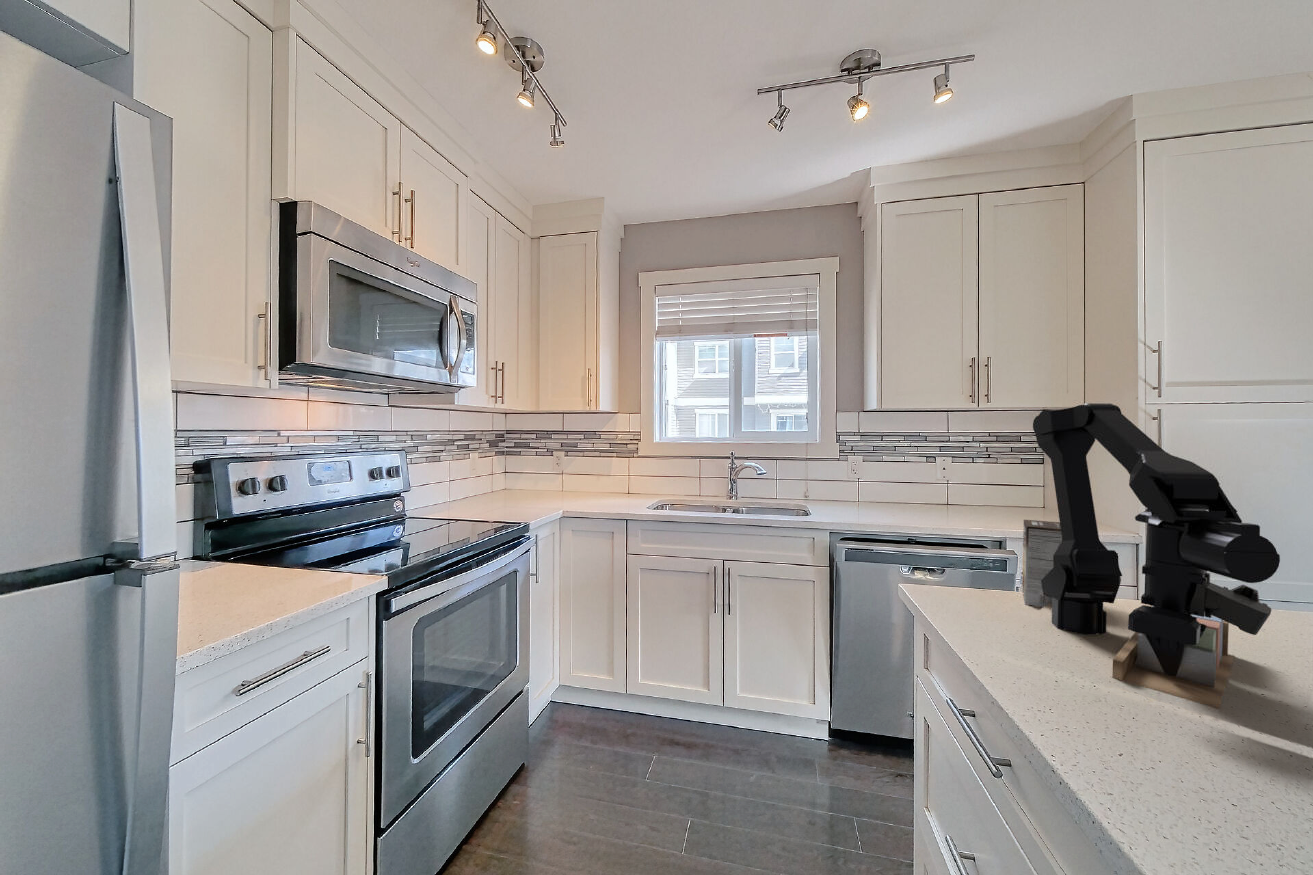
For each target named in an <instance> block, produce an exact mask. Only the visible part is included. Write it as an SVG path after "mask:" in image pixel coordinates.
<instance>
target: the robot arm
mask: <svg viewBox="0 0 1313 875" xmlns="http://www.w3.org/2000/svg"><path fill="white" fill-rule="evenodd" d="M1032 430H1033V432H1034V433H1035V438H1036V441H1037V446H1038V447H1039V448H1040V449H1041V450H1042V452H1043V453H1045V455H1047V457H1048V458H1049V459H1050V463H1051V469H1052V476H1053V477H1052V478H1053V484H1054V489H1055V498H1056V503H1057V504H1056V505H1057V511H1058V518H1059V522H1060V527H1061V534H1062V542H1061V543H1060V545H1059V547H1058V548H1057V550H1056V552H1055V553H1054V555H1053V568H1052V569H1051V570H1050V572H1049V573H1048V574H1047V575H1046V576H1045V577H1044V578H1043V579H1042V580H1041V585H1042V590H1043V593H1045V594H1047V595H1049V596H1051V597H1052V604H1051V624H1053V626H1054V627H1055V628H1056V629H1058V630H1062V631H1065V632H1069V633H1074V634H1079V635H1089V636H1090V635H1091V636H1092V635H1093V636H1095V635H1107V626H1108V625H1107V624H1108V623H1107V621H1108V620H1107V619H1108V618H1107V617H1108V612H1107V611H1106V610H1104V603H1108V604H1114V603H1115V600H1116V598H1117V595H1118V591H1119V589H1120V587H1121V582H1122V577H1123V574H1122V572H1121V569H1120V565H1119V555H1118V553H1117V552H1116V550H1113V549H1108V548H1107V547H1106V546H1105V545H1104V543H1102V541H1101V540H1100V537H1099V530H1098V523H1097V517H1096V511H1095V504H1094V499H1093V498H1094V497H1093V492H1092V485H1091V479H1090V474H1089V473H1090V472H1089V467H1088V460H1087V458H1088V457H1087V455H1088V454H1089V452H1090V451H1091V449H1092V447H1093V446H1094V444H1095V442H1096V441H1097V442H1098V443H1099V444H1100V445H1101V446H1102V447H1103V448H1104V449H1105V450H1106V451H1107V452H1108V453H1109V454H1111V456H1112V457H1113V458H1114V459H1115V460H1116V461H1117V462H1118V463H1119V464H1120V465H1121V466H1122V467H1123V468H1124V469H1125V470H1126V471H1127V473H1128V474H1129V480H1128V481H1129V482H1128V486H1129V488H1130V489H1131V490H1132V492H1133V493H1134V495H1135V496H1136V497H1137V499H1138V501H1139V502H1140V503H1141V504H1142V506H1144V507H1145V508H1146V509H1145V510H1144V511H1142V512H1140V513H1138V514H1137V515H1136V516H1134V519H1135V522H1140V523H1145V524H1146V538H1145V539H1146V540H1145V561H1144V562H1145V564H1143V565H1142V567H1141V574H1142V575H1144V593H1143V594H1142V595H1141V597H1140V598H1141V600H1140V603H1141V604H1143V605H1141V606H1139V607H1137V608H1135V609H1133V610H1132V611H1131V612H1130V613H1128V625H1127V626H1128V627H1127V629H1128V630H1129V631H1131V632H1134V633H1135V632H1138V633H1142V634H1145V636H1146V638H1147V640H1148V641H1149V643H1150V645H1151V647H1152V649H1153V651H1154V653H1155V655H1156V657H1157V659H1158V661H1159V663H1160V665H1161V667H1162V669H1163V671H1164V673H1165V674H1167V675H1171V676H1176V675H1177V672H1178V670H1179V667H1180V664H1181V661H1182V658H1183V655H1184V652H1185V649H1186V646H1187V644H1188V645H1197V643H1198V641H1199V639H1200V638H1201V637H1202V635H1203V632H1204V631H1205V629H1206V628H1207V625H1204V624H1201V623H1199V622H1198V621H1197V618H1195V617H1192V615H1197V616H1201V617H1204V616H1205V617H1209V618H1211V617H1212V615H1213V616H1215V617H1217V618H1219V619H1221V620H1223V621H1226V622H1228V623H1229V625H1233V626H1235V627H1237V628H1238V629H1239V630H1240V631H1242V632H1244V633H1247V634H1249V635H1252V636H1256V635H1258V634H1259V631H1260V630H1261V628H1262V627H1264V626H1263V625H1264V624H1265V623H1266V622H1267V619H1269V617H1270V615H1272V610H1273V609H1272V608H1271V607H1270V606H1268V604H1267V603H1264V602H1263V603H1262V602H1260V597H1259V596H1260V595H1259V591H1258V589H1255V588H1252V587H1250V586H1247V585H1245V584H1241V585H1239V586H1237V587H1236V586H1235V587H1234V588H1232V589H1229V588H1228V587H1226V586H1223V587H1222V586H1220V585H1218V584H1215V583H1212V582H1211V573H1213V574H1215V575H1220V576H1222V577H1226V578H1230V579H1233V580H1237V581H1240V582H1243V583H1248V584H1249V583H1250V584H1256V583H1262V582H1265V581H1267V580H1268V579H1270V578H1271V577H1273V576H1274V574H1275V573H1276V572H1277V570H1278V568H1279V565H1280V562H1281V555H1280V554H1279V553H1278V552H1277V549H1276V546H1274V543H1273V542H1271V540H1269V539H1267V538H1266V537H1264V536H1262V535H1261V526H1260V525H1259V524H1255V523H1248V522H1243V520H1242V518H1241V517H1240V516H1239V514H1238V513H1237V512H1238V510H1237V508H1235V507H1234V506H1233V505H1232V503H1231V501H1230V500H1229V499H1228V497H1227V495H1226V493H1225V492H1224V490H1223V489H1222V487H1221V486H1220V484H1221V483H1220V482H1219V480H1218V479H1217V477H1216V476H1215V475H1214V474H1213V473H1212V472H1210V471H1209V470H1208V469H1207V470H1206V469H1205V468H1203V467H1202V466H1200V465H1198V464H1196V463H1195V462H1193V461H1191V460H1187V459H1184V458H1182V457H1179V456H1176V455H1172V454H1170V453H1169V452H1167V451H1165V450H1164V449H1163V448H1162V447H1160V446H1159V445H1158V444H1157V443H1156V442H1155V441H1154V440H1152V439H1151V438H1150V437H1149V436H1148V435H1147V434H1146V433H1144V431H1142V430H1141V429H1140V428H1139V427H1138V426H1137V425H1136V424H1134V423H1133V422H1132V421H1130V419H1128V418H1127V417H1126V416H1125V415H1123V413H1122V410H1121V408H1120V407H1119V406H1117V405H1116V404H1113V403H1105V402H1104V403H1099V402H1098V403H1090V402H1089V403H1086V402H1085V403H1082V404H1079V405H1076V406H1073V407H1067V408H1061V409H1059V408H1058V409H1055V408H1054V409H1052V408H1051V409H1044V410H1042V411H1040V413H1039V414H1038V415H1037V416H1035V418H1033V422H1032Z"/></svg>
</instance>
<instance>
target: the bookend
mask: <svg viewBox="0 0 1313 875" xmlns="http://www.w3.org/2000/svg"><path fill="white" fill-rule="evenodd" d="M1137 666H1138V667H1141V668H1145V669H1149V670H1152V671H1156V672H1160V673H1163V674H1165V673H1164V671H1163V669H1162V667H1161V665H1160V663H1159V661H1158V659H1157V657H1156V655H1155V653H1154V651H1153V649H1152V647H1151V645H1150V643H1149V641H1148V640H1147V638H1146V636H1145V634H1142V633H1139V635H1138V647H1137ZM1174 677H1178V678H1182V679H1185V680H1189V681H1193V682H1196V683H1200V684H1204V685H1207V686H1211V687H1215V681H1216V651H1215V650H1210V649H1206V648H1202V647H1197V646H1193V645H1188V644H1187V646H1186V649H1185V652H1184V655H1183V658H1182V661H1181V664H1180V667H1179V670H1178V672H1177V675H1176V676H1174Z"/></svg>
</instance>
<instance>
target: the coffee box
mask: <svg viewBox="0 0 1313 875" xmlns="http://www.w3.org/2000/svg"><path fill="white" fill-rule="evenodd" d="M1022 532H1023V534H1022V535H1023V536H1022V537H1023V538H1022V539H1023V540H1022V579H1021V580H1022V582H1021V583H1022V584H1021V585H1022V588H1021V590H1022V591H1021V592H1022V596H1023V601H1024V604H1025V605H1027V606H1034V607H1038V608H1039V607H1040V608H1045V607H1046V606H1047V605H1048V606H1049V604H1051V605H1052V597H1051V596H1049V595H1047V594H1045V593H1043V590H1042V585H1041V580H1042V579H1043V578H1044V577H1045V576H1046V575H1047V574H1048V573H1049V572H1050V570H1051V569H1052V568H1053V555H1054V553H1055V552H1056V550H1057V548H1058V547H1059V545H1060V543H1061V542H1062V534H1061V527H1060V521H1046V520H1038V519H1037V520H1036V519H1035V520H1034V519H1033V520H1032V519H1023V531H1022ZM1023 593H1024V594H1023Z"/></svg>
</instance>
